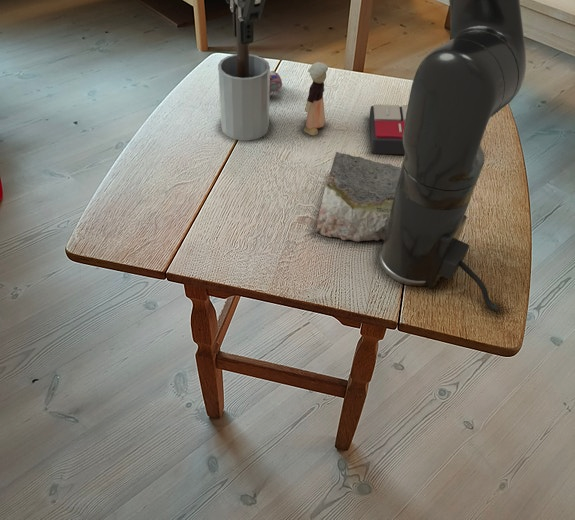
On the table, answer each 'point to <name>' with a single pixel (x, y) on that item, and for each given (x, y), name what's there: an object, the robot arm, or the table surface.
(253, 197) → the table surface
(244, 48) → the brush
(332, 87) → the table surface
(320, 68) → the grandmother figurine
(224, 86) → the cup
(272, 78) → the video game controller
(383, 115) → the black red box
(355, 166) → the geological specimen
